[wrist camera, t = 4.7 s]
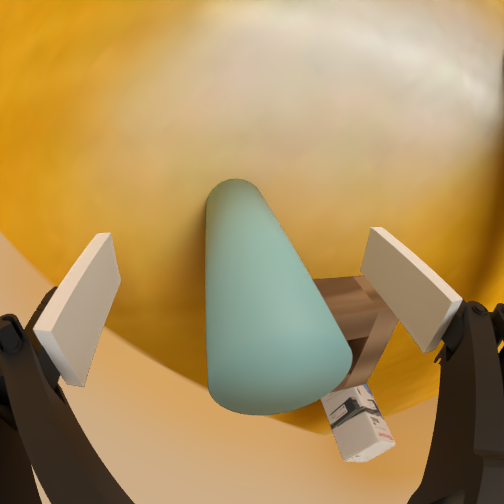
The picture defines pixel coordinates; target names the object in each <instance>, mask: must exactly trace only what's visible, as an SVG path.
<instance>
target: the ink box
mask: <svg viewBox="0 0 504 504" xmlns="http://www.w3.org/2000/svg"><path fill="white" fill-rule="evenodd" d="M320 400H321V402H322V405H323V407H324V410H325V413H326V415H327V418H328V421H329V423H330V426H331V429H332V431H333V434H334V437H335V440H336V443H337V445H338V448H339V451H340V454H341V456H342V459H343V460H345V461H349V462H366V461H369V460H371V459H372V458H374V457H376V456H378V455H380V454H381V453H383V452H385V451H386V450H388V449H389V448H391V447H393V446H395V445H396V444H395V441H394V439H393V437H392V435H391V433H390V431H389V429H388V426H387V424H386V422H385V420H384V418H383V416H382V414H381V412H380V410H379V408H378V406H377V404H376V402H375V399H374V397H373V395H372V393H371V391H370V389H369V387H368V385H367V383H365V384H364V385H360V386H356V387H352V388H348V389H344V390H340V391H336V392H331V393H328V394H327V395H326V396H324V397H322V398H321V399H320Z"/></svg>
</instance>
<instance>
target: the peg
mask: <svg viewBox="0 0 504 504" xmlns="http://www.w3.org/2000/svg"><path fill="white" fill-rule="evenodd" d="M205 306H206V347H207V372H208V389H209V393H210V395H211V397H212V398H213V399H214V400H215V401H216V402H217V403H218V404H219V405H220V406H222V407H224V408H226V409H228V410H231V411H233V412H237V413H241V414H247V415H273V414H280V413H285V412H289V411H293V410H296V409H299V408H302V407H305V406H307V405H309V404H311V403H314V402H315V401H317V400H319V399H321V398H322V397H324V396H326V395H327V394H328V393H330V392H331V391H332V390H334V389H335V388H336V387H337V386H338V385H339V384H340V383H341V382H342V381H343V379H344V378H345V377H346V375H347V373H348V372H349V370H350V367H351V364H352V351H351V349H350V347H349V345H348V343H347V341H346V339H345V337H344V336H343V334H342V332H341V330H340V328H339V326H338V324H337V323H336V321H335V319H334V317H333V315H332V314H331V312H330V310H329V308H328V306H327V305H326V303H325V301H324V299H323V297H322V296H321V294H320V292H319V290H318V289H317V287H316V285H315V283H314V282H313V280H312V278H311V276H310V275H309V273H308V271H307V269H306V268H305V266H304V264H303V263H302V261H301V259H300V257H299V256H298V254H297V252H296V251H295V249H294V247H293V246H292V244H291V242H290V240H289V239H288V237H287V235H286V234H285V232H284V230H283V229H282V227H281V226H280V224H279V222H278V221H277V219H276V217H275V216H274V214H273V212H272V211H271V209H270V208H269V206H268V204H267V203H266V201H265V199H264V198H263V196H262V195H261V193H260V191H259V190H258V189H257V188H256V187H255V186H254V185H253V184H252V183H250V182H248V181H246V180H242V179H230V180H226V181H223V182H221V183H220V184H218V185H217V186H216V187H215V188H214V189H213V190H212V191H211V193H210V194H209V196H208V199H207V205H206V246H205Z"/></svg>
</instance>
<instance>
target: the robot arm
mask: <svg viewBox="0 0 504 504" xmlns="http://www.w3.org/2000/svg"><path fill="white" fill-rule="evenodd" d="M360 272H361V273H362V274H363V275H364V276H365V278H366V279H367V280H368V281H369V282H370V284H371V285H372V286H373V287H374V289H375V290H376V291H377V292H378V294H379V295H380V296H381V297H382V299H383V300H384V301H385V302H386V304H387V305H388V306H389V307H390V309H391V310H392V311H393V313H394V314H395V315H396V317H397V318H398V319H399V320H400V322H401V323H402V324H403V326H404V327H405V328H406V330H407V331H408V333H409V334H410V335H411V337H412V338H413V339H414V341H415V342H416V343H417V345H418V346H419V348H420V349H421V350H422V352H423V353H427V352H430V351H432V350H435V349H436V347H437V346H438V344H439V342H440V341H441V339H442V340H443V341H444V343H445V344H444V346H443V347H442V349H441V350H440V352H439V354H438V355H437V357H436V358H435V360H434V363H436V362H437V360H438V359H439V358H441V361H440V362H439V364H440V365H441V373H440V387H439V398H438V405H437V413H436V420H435V426H434V432H433V437H432V442H431V447H430V452H429V456H428V460H427V464H426V468H425V472H424V476H423V479H422V482H421V484H420V486H419V488H418V489H417V490H416V491H415V492H414V494H413V495H412V496H411V498H410V499H409V501H408V503H407V504H504V346H503V348H502V349H501V351H500V352H499V353H498V349H497V348H498V346H499V345H500V343H501V342H502V340H503V341H504V304H502V303H498V304H497V305H496V307H495V309H494V311H493V312H488V310H487V309H486V308H485V307H484V306H483V305H482V304H480V303H478V302H475V301H469V302H468V303H466V302H465V301H464V300H463V299H462V298H461V297H460V296H459V295H458V294H457V293H456V292H455V291H454V290H453V289H452V288H451V287H450V286H449V285H448V284H447V283H446V282H445V281H444V280H443V279H442V278H441V277H440V276H439V275H437V274H436V273H435V272H434V271H433V270H432V269H431V268H430V267H429V266H427V265H426V264H425V263H424V262H423V261H422V260H421V259H420V258H418V257H417V256H416V255H415V254H414V253H413V252H412V251H410V250H409V249H408V248H407V247H406V246H404V245H403V244H402V243H401V242H400V241H398V240H397V239H396V238H395V237H394V236H392V235H391V234H390V233H389V232H387V231H386V230H385V229H384V228H382V227H371V229H370V234H369V238H368V242H367V246H366V250H365V254H364V258H363V262H362V266H361V269H360ZM120 283H121V278H120V273H119V269H118V265H117V260H116V255H115V251H114V246H113V240H112V235H111V233H97V234H96V236H95V237H94V238H93V239H92V241H91V242H90V243H89V245H88V246H87V247H86V249H85V250H84V251H83V253H82V254H81V255H80V257H79V258H78V259H77V261H76V262H75V263H74V265H73V266H72V268H71V269H70V271H69V272H68V273H67V275H66V276H65V278H64V279H63V281H62V282H61V284H60V285H59V287H54V288H52V289H51V290H50V291H49V292H48V293H47V294H46V295H45V297H44V298H43V300H42V301H41V304H39V306H38V308H37V311H35V312H34V314H33V315H32V317H31V319H30V320H29V322H28V324H27V326H26V327H25V329H23V328H22V326H21V324H20V322H19V320H18V318H17V316H16V315H14V314H6V315H3V316H1V317H0V504H42V502H41V499H40V496H39V493H38V489H37V486H36V483H35V479H34V475H33V471H32V467H33V469H34V471H35V473H36V475H37V477H38V480H39V482H40V483H41V486H42V488H43V489H44V491H45V493H46V495H47V497H48V498H49V500H50V502H51V504H135V503H133V501H132V500H131V499H130V498H129V496H128V495H127V494H126V493H125V492H124V490H123V489H122V488H121V487H120V485H119V484H118V483H117V482H116V480H115V479H114V478H113V476H112V475H111V473H110V472H109V471H108V469H107V468H106V466H105V465H104V463H103V462H102V461H101V459H100V458H99V456H98V455H97V453H96V452H95V450H94V448H93V447H92V445H91V444H90V442H89V440H88V439H87V437H86V435H85V433H84V432H83V430H82V428H81V426H80V425H79V423H78V421H77V419H76V417H75V415H74V414H73V411H72V410H71V408H70V406H69V404H68V401H67V399H66V397H65V395H64V393H63V391H62V389H61V387H60V386H59V384H58V379H59V376H60V375H61V376H62V378H63V379H64V381H65V382H66V384H67V385H73V386H79V387H84V386H85V383H86V379H87V376H88V372H89V369H90V366H91V362H92V359H93V356H94V353H95V350H96V347H97V344H98V341H99V338H100V335H101V332H102V329H103V327H104V324H105V321H106V318H107V316H108V313H109V311H110V308H111V305H112V303H113V300H114V298H115V295H116V293H117V290H118V288H119V286H120ZM31 465H32V466H31Z"/></svg>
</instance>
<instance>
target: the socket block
mask: <svg viewBox="0 0 504 504" xmlns="http://www.w3.org/2000/svg"><path fill="white" fill-rule="evenodd" d="M313 282H314V283H315V285H316V287H317V289H318V290H319V292H320V294H321V296H322V297H323V299H324V301H325V303H326V305H327V306H328V308H329V310H330V312H331V314H332V315H333V317H334V319H335V321H336V323H337V324H338V326H339V328H340V330H341V332H342V334H343V336H344V337H345V339H346V341H347V343H348V345H349V347H350V349H351V351H352V364H351V367H350V370H349V372H348V373H347V375H346V377H345V378H344V379H343V381H342V382H341V383H340V384H339V385H338V386H337V387H336V388H335V389H334V390H332V391H331V392H336V391H340V390H344V389H348V388H352V387H356V386H360V385H364V384H365V383H366V382H367V380H368V378H369V377H370V375H371V373H372V371H373V370H374V368H375V366H376V364H377V362H378V361H379V359H380V357H381V355H382V353H383V351H384V349H385V347H386V345H387V343H388V341H389V339H390V337H391V335H392V333H393V331H394V329H395V327H396V325H397V323H398V321H399V319H398V318H397V317H396V315H395V314H394V313H393V311H392V310H391V309H390V307H389V306H388V305H387V304H386V302H385V301H384V300H383V299H382V297H381V296H380V295H379V294H378V292H377V291H376V290H375V289H374V287H373V286H372V285H371V284H370V282H369V281H368V280H367V279H366V278H365V276H354V277H341V278H328V279H314V280H313ZM331 392H330V393H331Z"/></svg>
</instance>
